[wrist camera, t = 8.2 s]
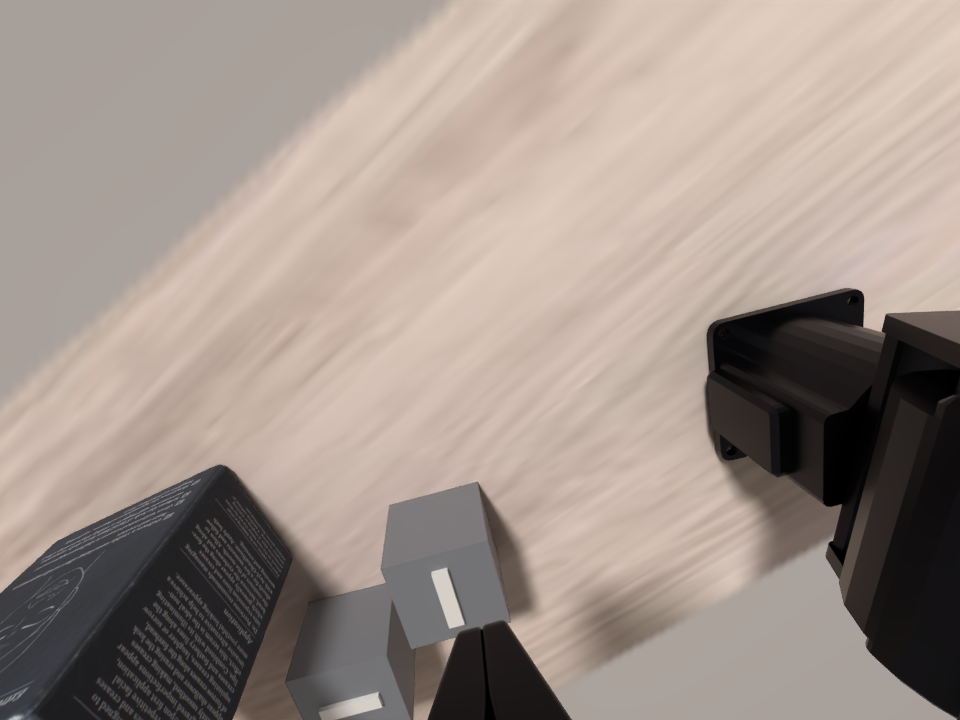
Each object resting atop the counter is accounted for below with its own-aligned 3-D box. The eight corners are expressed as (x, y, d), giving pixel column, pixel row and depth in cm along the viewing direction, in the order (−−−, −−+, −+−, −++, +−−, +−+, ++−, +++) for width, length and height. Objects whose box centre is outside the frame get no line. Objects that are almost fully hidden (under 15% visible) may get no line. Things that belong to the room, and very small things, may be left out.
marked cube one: (477, 480, 21) (488, 543, 17) (497, 552, 22) (511, 626, 18) (385, 505, 21) (374, 574, 17) (410, 575, 22) (406, 655, 18)
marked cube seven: (393, 579, 22) (386, 660, 18) (415, 643, 24) (413, 731, 20) (305, 602, 22) (278, 688, 18) (332, 664, 24) (312, 757, 20)
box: (145, 628, 22) (-99, 990, 12) (58, 536, 20) (-317, 870, 10) (299, 557, 21) (185, 866, 11) (225, 457, 20) (13, 720, 10)
